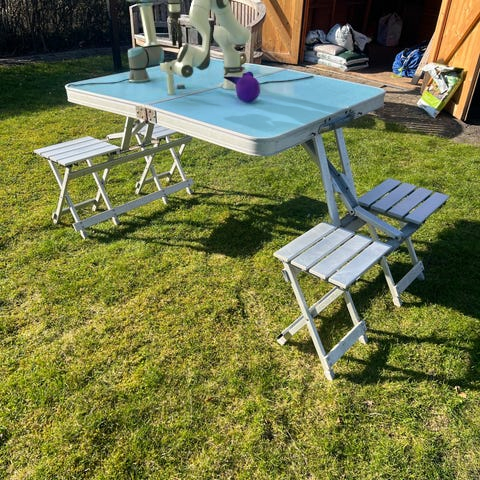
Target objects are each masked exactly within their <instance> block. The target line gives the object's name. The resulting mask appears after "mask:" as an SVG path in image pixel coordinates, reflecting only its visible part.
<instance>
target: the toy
mask: <svg viewBox="0 0 480 480" xmlns="http://www.w3.org/2000/svg"><path fill="white" fill-rule="evenodd" d="M224 78H225V79H227V80H229V81H230V82H232V83H234V84H236V90H235V92H236V96H237V98H238V100H240V101H241V102H244V103H253V102H255V101H256V100H257V99H258V97H259V96H260V94H261V84H259V83H260V82H259V80H258V79H257V78H255V76H254V73H253V72H252V71H246V72H244V73H243V76H242V77H233V76H224V75H223V79H224Z"/></svg>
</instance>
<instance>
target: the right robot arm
mask: <svg viewBox="0 0 480 480" xmlns="http://www.w3.org/2000/svg"><path fill="white" fill-rule="evenodd" d="M190 4H191V5H190V7H189V12H188V19H189V22H190V24H191V26H193V28H194V29H195V30H196V31H197V32H198V33H199V34H200V37H201V38H202V42H201V43H202V44H201V49H199V48H197V47H195V46H193V45H191V44H189V43H185V44H184V45H183V44H182V47H181V48H178V52H177V55H176V59H174V60H171V61H165V62H162V63H160V64H159V68H160V70H161V71H162V72H164V73H165V74H173V75H176V76H177V75H178V76H179V77H181V78H184V79H189V78H191V77H192V76H193V74H194V67H195V68H196V69H198V70H200V71H204V70H206V69H208V68H209V67H210V64H211V47H212V46H211V45H212V36H213V39H214V41H215V43H217V44H218V45H219V46H218V47H219V48H220V49H221V51H222V56H223V60H224V63H223V69H222V71H223V82H222V87H221V88H222V89H224V90H232V91H236V84H234V83H232V82H230V81H229V80H227V79H225V78H224V76H233V77H242V76H243V73H245V72H244V71H245V70H246V67H245V66H243V65H242V66H240V60H241V58H240V54H241V53H240V52H239V51H238V50H237V49H235V47H234V45H236V46H237V45H240V46H241V45H246V44H247V43H248V42H249V40H250V37H251V36H250V31H249V29H248V28H247V27H246V26H245V25H243V24H241V23H240V22H239V20H238V19H237V17H236V16H235V14H234V11H233V9H232V6H231V2H230V0H192V1H191V3H190ZM211 10H213V14H214V16H215V19H216V21H217V23H218V25H219V26H216V27H215V28H214V30H213V33H212V26H211V24H210V20H209V15H210V11H211ZM311 78H314V75H308V76H304V77H299V78H294V79H287V80H286V79H285V80H274V81H273V80H271V81H263V82H259V84H260V85H265V84H270V83H271V84H272V83H273V84H274V83H288V82H295V81H300V80H305V79H311Z"/></svg>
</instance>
